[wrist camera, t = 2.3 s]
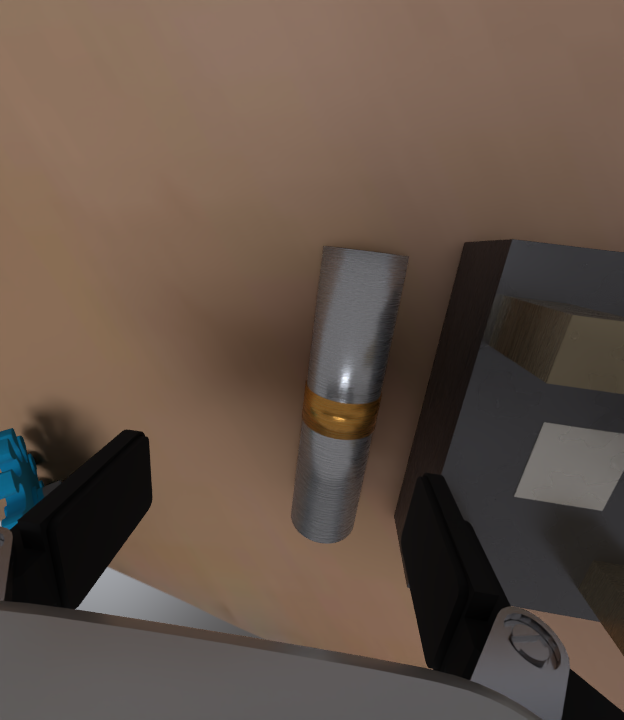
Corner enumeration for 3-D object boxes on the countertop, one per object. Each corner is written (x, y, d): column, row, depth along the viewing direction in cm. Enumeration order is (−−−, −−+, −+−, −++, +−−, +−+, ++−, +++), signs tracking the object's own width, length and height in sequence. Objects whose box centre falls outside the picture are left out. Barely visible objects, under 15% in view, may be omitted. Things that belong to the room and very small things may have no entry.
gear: (-22, 408, 21) (-37, 518, 14) (86, 381, 24) (115, 459, 18) (36, 521, 26) (45, 643, 19) (119, 486, 29) (151, 578, 23)
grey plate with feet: (691, 269, 16) (1088, 291, 7) (557, 543, 22) (691, 730, 13) (464, 242, 16) (591, 234, 8) (394, 516, 22) (423, 678, 14)
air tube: (305, 243, 15) (365, 250, 12) (365, 251, 18) (428, 259, 15) (278, 506, 21) (315, 556, 18) (327, 484, 23) (368, 525, 20)
